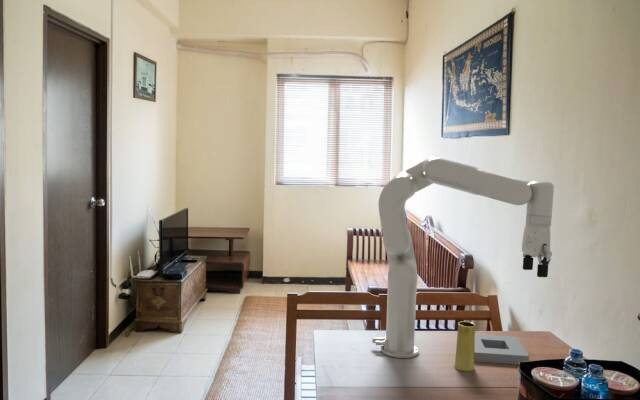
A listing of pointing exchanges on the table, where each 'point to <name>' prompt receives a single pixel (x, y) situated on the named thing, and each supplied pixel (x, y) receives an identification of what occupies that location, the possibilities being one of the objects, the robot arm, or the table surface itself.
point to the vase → (465, 346)
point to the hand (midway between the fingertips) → (534, 273)
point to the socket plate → (499, 349)
